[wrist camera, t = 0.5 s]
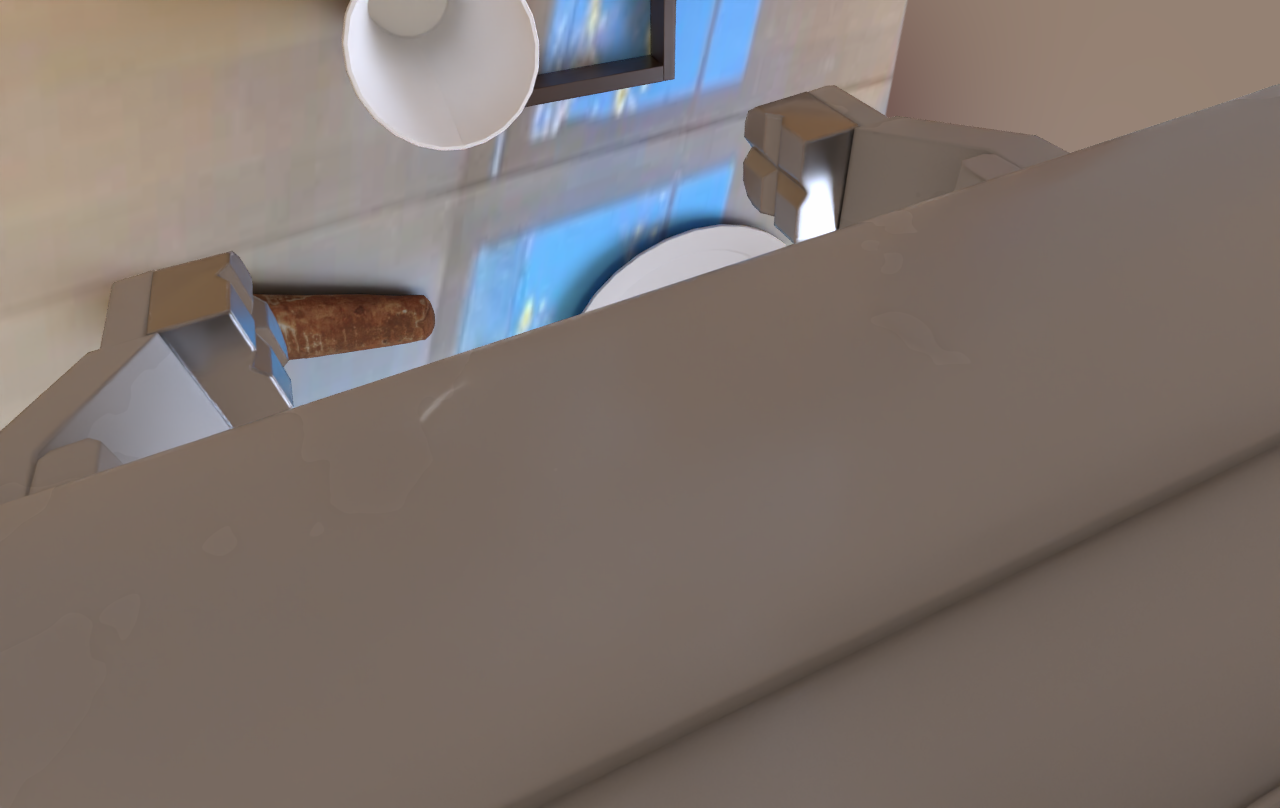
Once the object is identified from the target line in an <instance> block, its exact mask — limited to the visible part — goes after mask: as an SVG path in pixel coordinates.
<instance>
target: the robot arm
mask: <svg viewBox="0 0 1280 808" xmlns="http://www.w3.org/2000/svg"><path fill="white" fill-rule="evenodd" d="M744 137H745V138H746V140H747V141H748V143H749V144H750V145H751V147H752V148H751V150H750V151H749V153H748V155H747V157H746V158H745V160H744V162H743V181H744V185H745V189H746V192H747V196H748V198H749V199H750V201H751V203H752V205H753V206H754V207H755V208H756V209H757V210H758V211H759V212H760V213H763V214H767V215H771V216H775V218H774V226H775V227H776V228H777V229H779V230H780V231H781V232H782V233H783V234H784V235H785V236H786V237H787V238H788V239H789V240H791V241H792V242H793V243H794V244H792V245H789V246H786V247H783V248H780V249H777V250H774V251H771V252H768V253H765V254H762V255H759V256H756V257H753V258H750V259H747V260H744V261H741V262H738V263H734V264H731V265H728V266H725V267H722V268H719V269H716V270H713V271H710V272H707V273H704V274H701V275H698V276H695V277H692V278H689V279H686V280H683V281H680V282H677V283H674V284H671V285H668V286H664V287H661V288H658V289H655V290H652V291H649V292H646V293H643V294H640V295H637V296H634V297H631V298H628V299H625V300H622V301H619V302H616V303H613V304H610V305H607V306H603V307H600V308H597V309H594V310H591V311H588V312H585V313H582V314H579V315H576V316H573V317H570V318H567V319H564V320H561V321H558V322H555V323H552V324H549V325H546V326H542V327H539V328H536V329H533V330H530V331H527V332H524V333H521V334H518V335H515V336H512V337H509V338H506V339H503V340H500V341H497V342H494V343H491V344H488V345H485V346H482V347H478V348H475V349H472V350H469V351H466V352H463V353H460V354H457V355H454V356H451V357H448V358H445V359H442V360H439V361H436V362H433V363H430V364H427V365H424V366H421V367H417V368H414V369H411V370H408V371H405V372H402V373H399V374H396V375H393V376H390V377H387V378H384V379H381V380H378V381H375V382H372V383H369V384H366V385H363V386H360V387H357V388H353V389H350V390H347V391H344V392H341V393H338V394H335V395H332V396H329V397H326V398H323V399H320V400H317V401H314V402H311V403H308V404H305V405H302V406H299V407H296V408H294V405H293V396H292V386H291V379H290V377H289V376H288V374H287V373H286V371H285V369H284V368H283V367H284V366H285V365H286V363H287V362H288V361H289V359H288V352H287V347H286V344H285V340H284V337H283V334H282V331H281V329H280V327H279V325H278V322H277V320H276V318H275V316H274V314H273V313H272V311H271V309H270V307H269V306H268V304H267V302H266V301H264V300H262V299H260V298H258V297H256V296H254V295H253V287H252V277H251V275H250V273H249V272H248V270H247V269H246V267H245V265H244V264H243V262H242V261H241V259H240V257H239V256H237V255H236V254H235V253H234V252H233V251H230V252H226V253H222V254H218V255H214V256H210V257H206V258H202V259H198V260H195V261H191V262H187V263H183V264H179V265H175V266H171V267H167V268H163V269H159V270H157V271H154V270H152V271H148V272H145V273H142V274H139V275H135V276H132V277H129V278H126V279H123V280H119V281H117V282H114V283H113V284H112V287H111V293H110V298H109V303H108V309H107V314H106V319H105V325H104V330H103V336H102V341H101V346H100V349H98V350H95V351H92V352H88V353H87V354H86V355H85V356H84V357H82V358H81V359H80V360H79V361H78V362H77V363H76V364H75V365H73V366H72V367H71V368H70V369H69V370H68V371H67V372H66V373H65V374H63V375H62V376H61V377H60V378H59V379H58V380H57V381H56V382H55V383H53V384H52V385H51V386H50V387H49V388H48V389H47V390H46V391H45V392H43V393H42V394H41V395H40V396H39V397H38V398H37V399H36V400H35V401H33V402H32V403H31V404H30V405H29V406H28V407H27V408H26V409H25V410H23V411H22V412H21V413H20V414H19V415H18V416H17V417H16V418H15V419H13V420H12V421H11V422H10V423H9V424H8V425H7V426H6V427H5V428H3V429H2V430H1V431H0V808H1280V84H1278V85H1274V86H1271V87H1268V88H1265V89H1262V90H1259V91H1256V92H1254V93H1251V94H1248V95H1245V96H1242V97H1239V98H1236V99H1233V100H1230V101H1227V102H1224V103H1221V104H1218V105H1215V106H1212V107H1209V108H1206V109H1203V110H1200V111H1197V112H1194V113H1191V114H1188V115H1185V116H1182V117H1179V118H1175V119H1172V120H1169V121H1166V122H1163V123H1160V124H1157V125H1154V126H1151V127H1148V128H1145V129H1142V130H1139V131H1136V132H1133V133H1130V134H1127V135H1124V136H1121V137H1118V138H1114V139H1111V140H1108V141H1105V142H1102V143H1099V144H1096V145H1093V146H1090V147H1087V148H1084V149H1081V150H1078V151H1075V152H1072V153H1069V152H1067V151H1064V150H1063V149H1061V148H1059V147H1057V146H1055V145H1053V144H1051V143H1050V142H1048V141H1046V140H1044V139H1042V138H1040V137H1038V136H1036V135H1028V134H1021V133H1014V132H1007V131H1000V130H993V129H986V128H979V127H971V126H965V125H958V124H951V123H944V122H936V121H929V120H922V119H915V118H908V117H900V116H895V117H891V118H888V117H886V116H885V115H883V114H881V113H880V112H878V111H877V110H875V109H873V108H872V107H870V106H868V105H867V104H865V103H863V102H862V101H860V100H858V99H857V98H855V97H853V96H852V95H850V94H848V93H847V92H845V91H843V90H842V89H840V88H838V87H837V86H835V85H831V86H824V87H821V88H818V89H815V90H812V91H809V92H804V93H800V94H797V95H794V96H790V97H787V98H784V99H781V100H777V101H774V102H771V103H767V104H764V105H761V106H758V107H755V108H753V109H751V110H749V111H748V114H747V117H746V121H745V133H744Z"/></svg>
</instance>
